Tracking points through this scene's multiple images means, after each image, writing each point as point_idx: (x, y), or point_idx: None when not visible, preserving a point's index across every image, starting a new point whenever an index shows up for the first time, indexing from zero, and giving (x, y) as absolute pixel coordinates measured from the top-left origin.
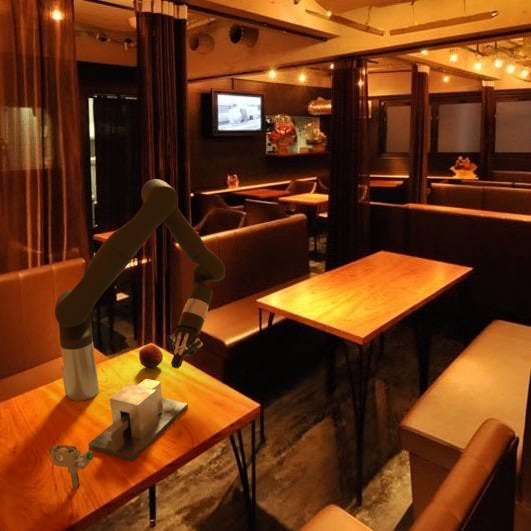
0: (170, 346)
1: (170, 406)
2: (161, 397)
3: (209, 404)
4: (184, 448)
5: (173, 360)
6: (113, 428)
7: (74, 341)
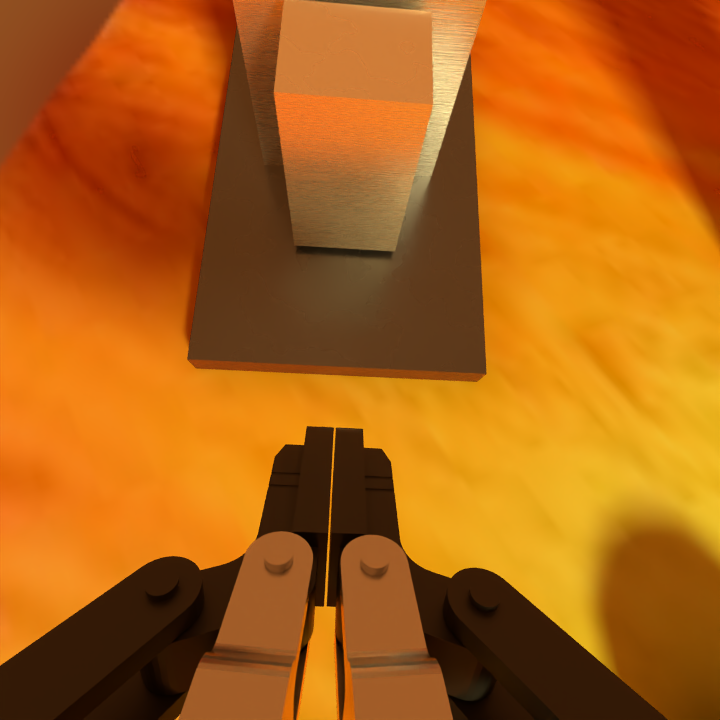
0: (546, 649)
1: (277, 301)
2: (287, 189)
3: (74, 449)
4: (75, 90)
5: (360, 465)
6: None
7: None
